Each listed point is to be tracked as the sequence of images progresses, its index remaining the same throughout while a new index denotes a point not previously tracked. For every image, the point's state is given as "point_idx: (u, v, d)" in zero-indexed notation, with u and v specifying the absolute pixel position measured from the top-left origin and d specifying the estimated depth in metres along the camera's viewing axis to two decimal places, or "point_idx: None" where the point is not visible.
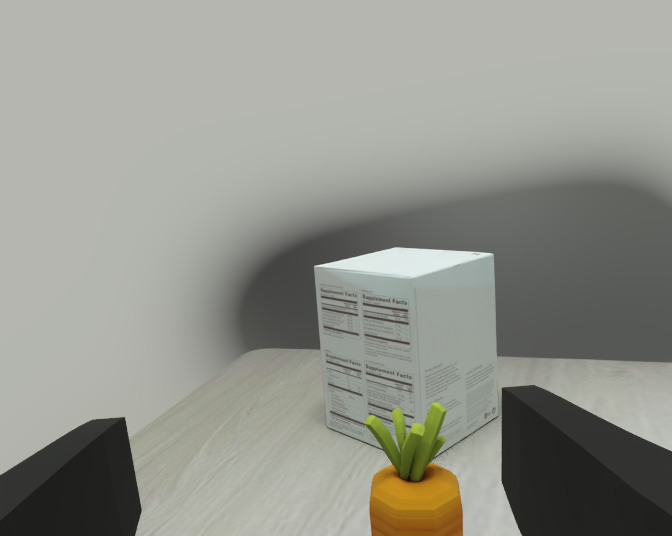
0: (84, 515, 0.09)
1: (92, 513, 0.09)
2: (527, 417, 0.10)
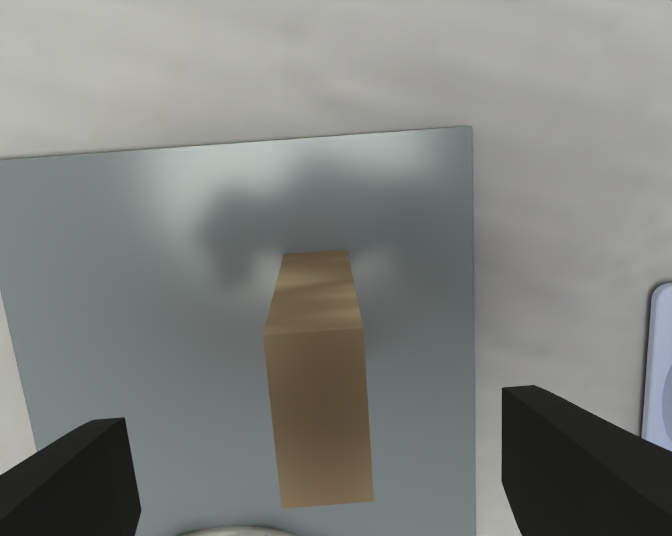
0: (84, 515, 0.09)
1: (92, 513, 0.09)
2: (527, 417, 0.10)
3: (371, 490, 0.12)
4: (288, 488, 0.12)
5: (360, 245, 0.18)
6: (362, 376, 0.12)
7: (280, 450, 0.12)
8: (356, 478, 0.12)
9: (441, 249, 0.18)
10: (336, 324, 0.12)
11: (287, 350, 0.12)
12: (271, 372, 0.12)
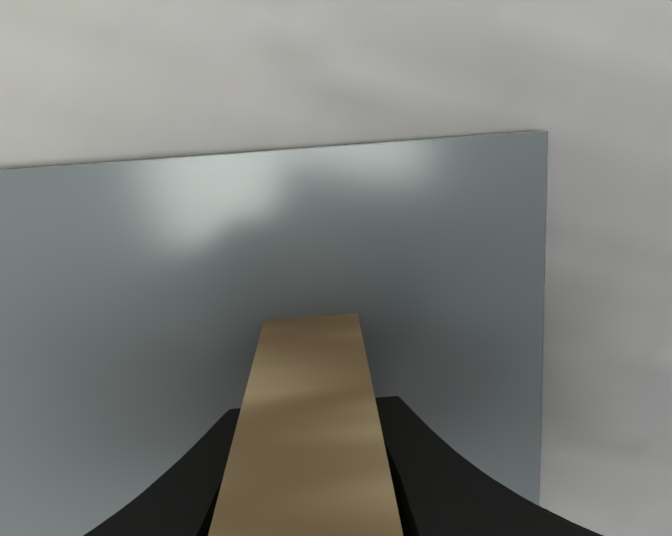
0: None
1: None
2: None
3: None
4: None
5: (377, 306, 0.12)
6: None
7: None
8: None
9: (496, 312, 0.12)
10: (348, 533, 0.06)
11: None
12: None
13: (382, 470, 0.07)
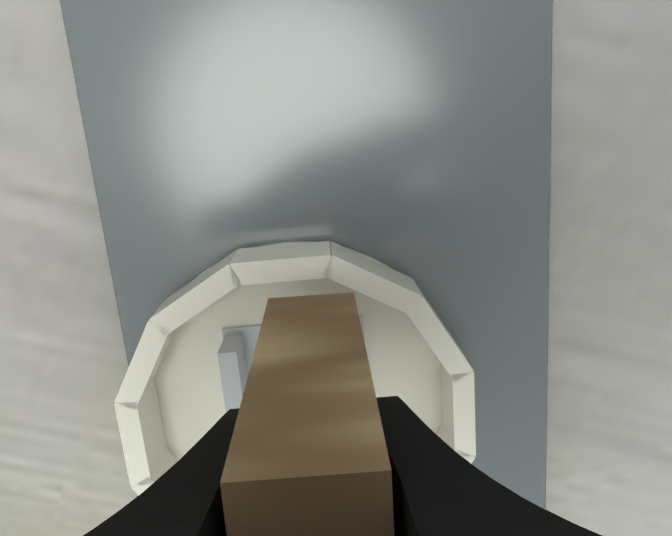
0: None
1: None
2: None
3: None
4: None
5: None
6: None
7: None
8: None
9: None
10: (345, 457, 0.07)
11: (262, 507, 0.07)
12: None
13: (373, 413, 0.08)
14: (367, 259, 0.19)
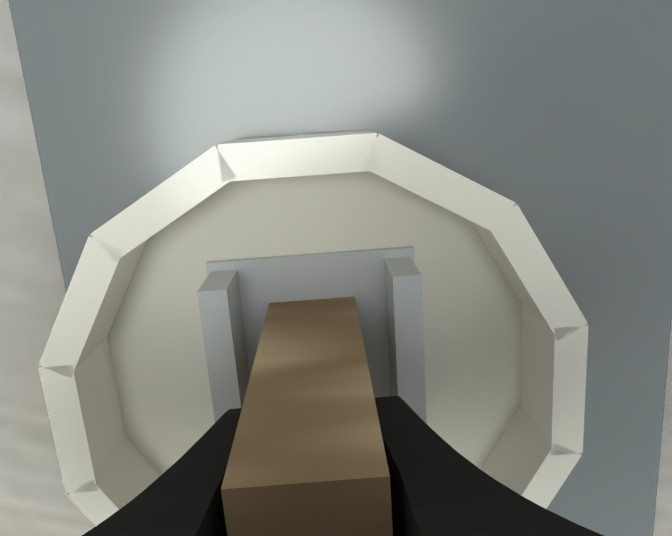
0: None
1: None
2: None
3: None
4: None
5: None
6: None
7: None
8: None
9: None
10: (344, 463, 0.07)
11: (262, 513, 0.07)
12: None
13: (372, 419, 0.08)
14: None
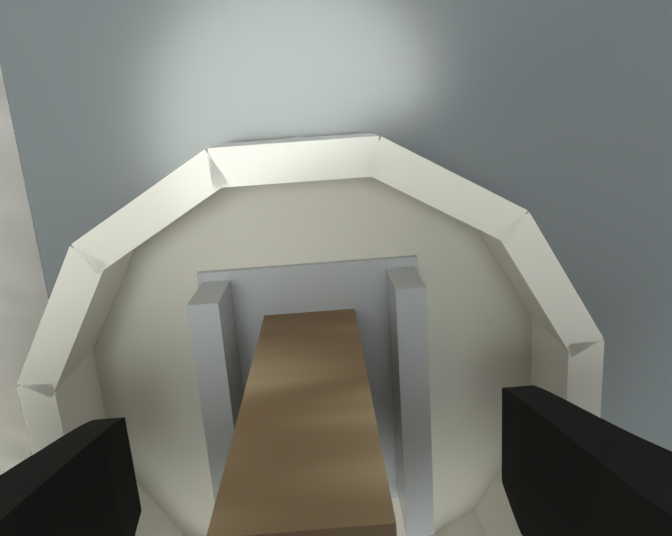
0: (84, 516, 0.09)
1: (92, 513, 0.09)
2: (527, 417, 0.10)
3: None
4: None
5: None
6: None
7: None
8: None
9: None
10: (344, 507, 0.06)
11: None
12: None
13: (375, 452, 0.07)
14: None
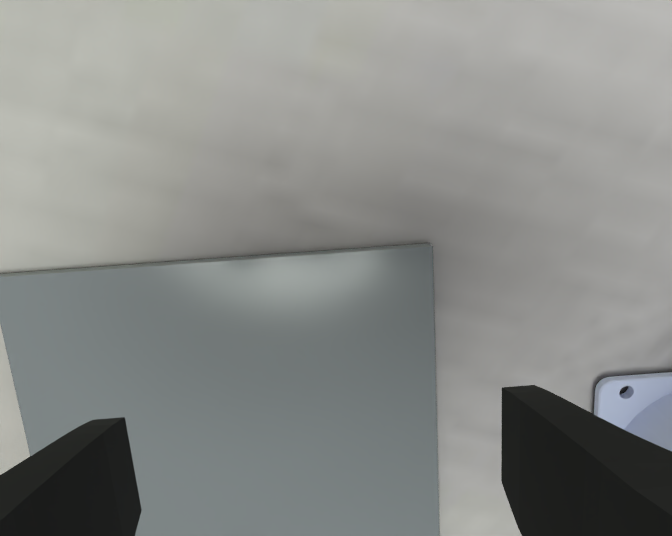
0: (84, 516, 0.09)
1: (92, 513, 0.09)
2: (527, 417, 0.10)
3: None
4: None
5: (334, 346, 0.21)
6: None
7: None
8: None
9: (406, 350, 0.21)
10: None
11: None
12: None
13: None
14: None
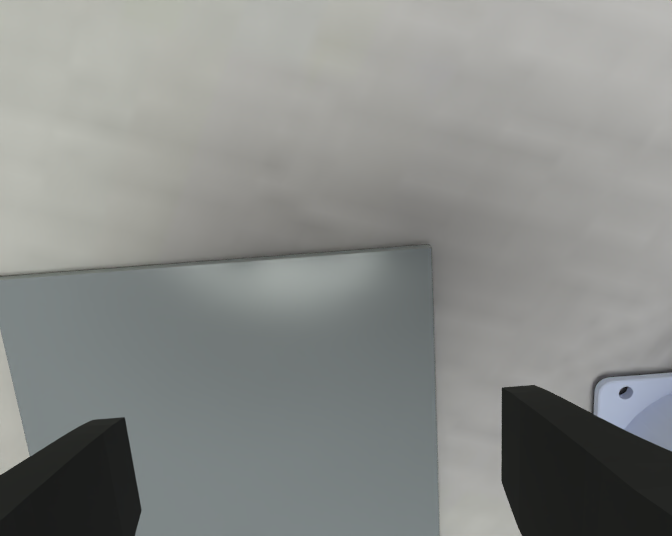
0: (84, 516, 0.09)
1: (92, 513, 0.09)
2: (527, 417, 0.10)
3: None
4: None
5: (333, 348, 0.21)
6: None
7: None
8: None
9: (406, 351, 0.21)
10: None
11: None
12: None
13: None
14: None
